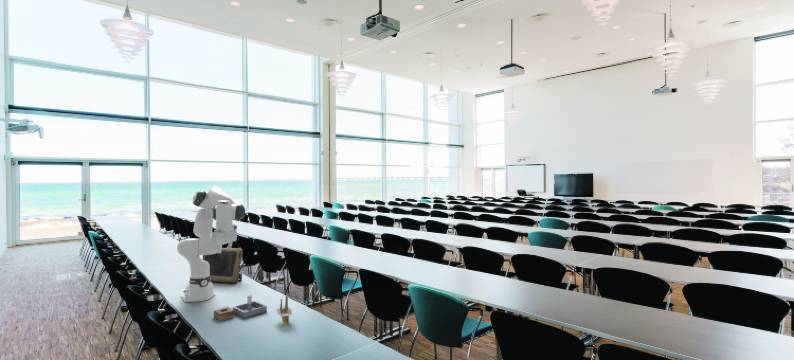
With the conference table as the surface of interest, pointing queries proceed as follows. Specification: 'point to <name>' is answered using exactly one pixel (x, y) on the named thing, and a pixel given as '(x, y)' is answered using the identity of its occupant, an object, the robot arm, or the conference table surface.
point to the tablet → (225, 265)
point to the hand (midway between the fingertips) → (224, 251)
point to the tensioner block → (224, 313)
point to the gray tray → (256, 310)
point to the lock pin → (249, 302)
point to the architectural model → (284, 312)
